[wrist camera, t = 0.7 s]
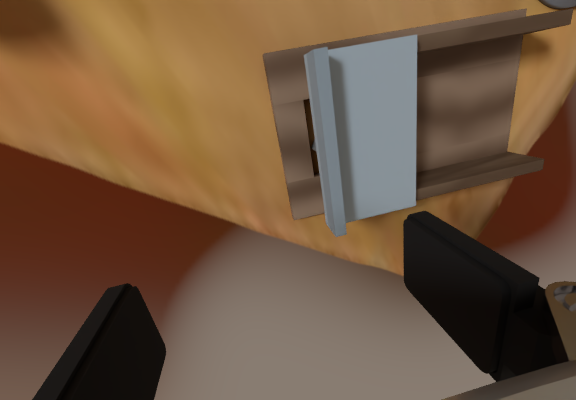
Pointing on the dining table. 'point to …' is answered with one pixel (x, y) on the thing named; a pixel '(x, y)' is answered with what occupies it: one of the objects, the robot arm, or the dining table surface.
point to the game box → (426, 104)
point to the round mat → (559, 3)
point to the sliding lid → (364, 127)
